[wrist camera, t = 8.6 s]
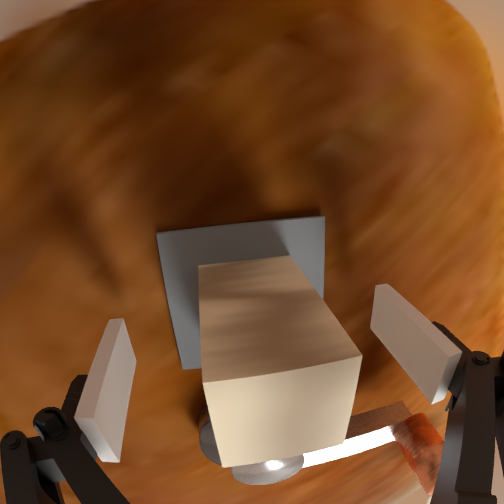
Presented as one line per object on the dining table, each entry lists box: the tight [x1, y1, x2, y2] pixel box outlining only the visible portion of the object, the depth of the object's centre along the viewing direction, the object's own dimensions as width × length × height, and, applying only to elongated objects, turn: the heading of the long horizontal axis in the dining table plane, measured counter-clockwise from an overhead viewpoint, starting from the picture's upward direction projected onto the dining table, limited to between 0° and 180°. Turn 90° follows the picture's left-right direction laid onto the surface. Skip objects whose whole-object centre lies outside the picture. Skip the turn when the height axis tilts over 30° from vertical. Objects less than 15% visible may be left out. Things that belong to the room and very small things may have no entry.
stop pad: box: [156, 215, 325, 370], centre depth 19 cm, size 9×9×1 cm
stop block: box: [198, 255, 362, 468], centre depth 14 cm, size 5×5×9 cm
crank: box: [231, 400, 444, 495], centre depth 17 cm, size 15×5×8 cm, turn 94°
